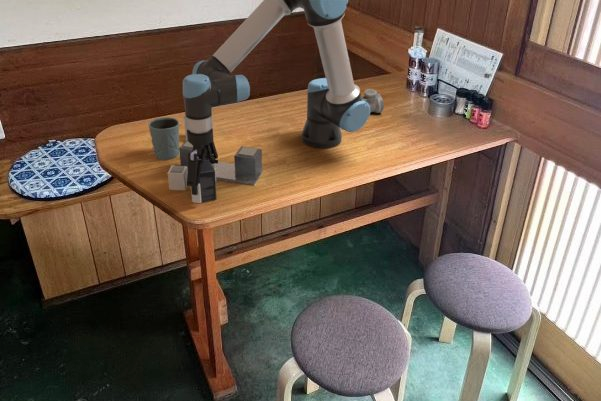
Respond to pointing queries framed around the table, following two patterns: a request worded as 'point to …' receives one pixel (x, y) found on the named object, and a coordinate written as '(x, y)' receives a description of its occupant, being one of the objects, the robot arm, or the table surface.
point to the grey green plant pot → (165, 137)
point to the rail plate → (240, 172)
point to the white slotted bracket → (185, 127)
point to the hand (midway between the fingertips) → (204, 191)
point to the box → (207, 182)
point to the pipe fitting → (373, 100)
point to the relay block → (177, 177)
